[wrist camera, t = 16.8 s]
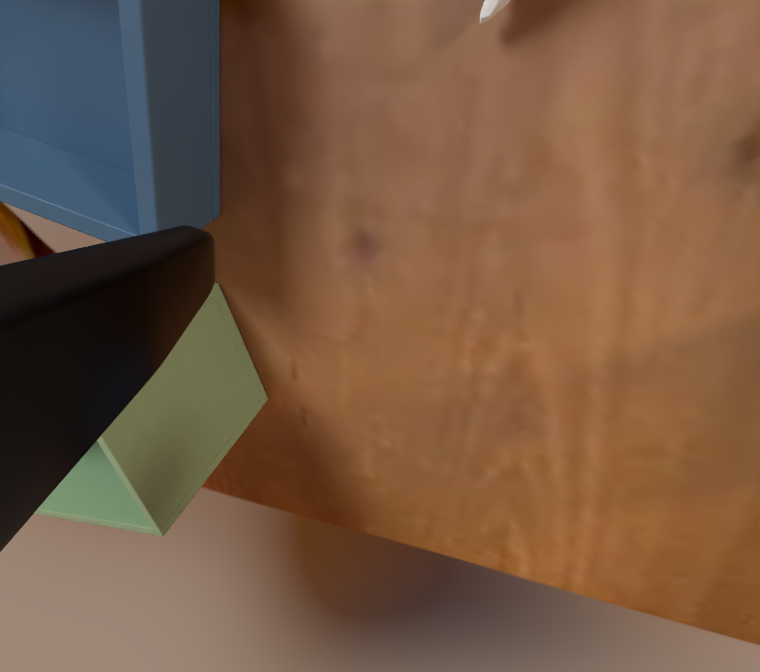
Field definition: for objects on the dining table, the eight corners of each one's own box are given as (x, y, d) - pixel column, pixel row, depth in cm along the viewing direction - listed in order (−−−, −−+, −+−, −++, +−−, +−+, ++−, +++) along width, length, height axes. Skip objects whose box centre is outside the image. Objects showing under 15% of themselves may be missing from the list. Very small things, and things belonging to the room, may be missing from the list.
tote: (220, -126, 19) (131, -119, 16) (220, 215, 26) (160, 262, 23) (-170, -224, 22) (-308, -234, 19) (-71, 110, 29) (-159, 140, 26)
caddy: (218, 281, 29) (82, 407, 22) (269, 399, 32) (163, 537, 26) (61, 289, 33) (-89, 396, 27) (120, 391, 36) (-1, 508, 30)
